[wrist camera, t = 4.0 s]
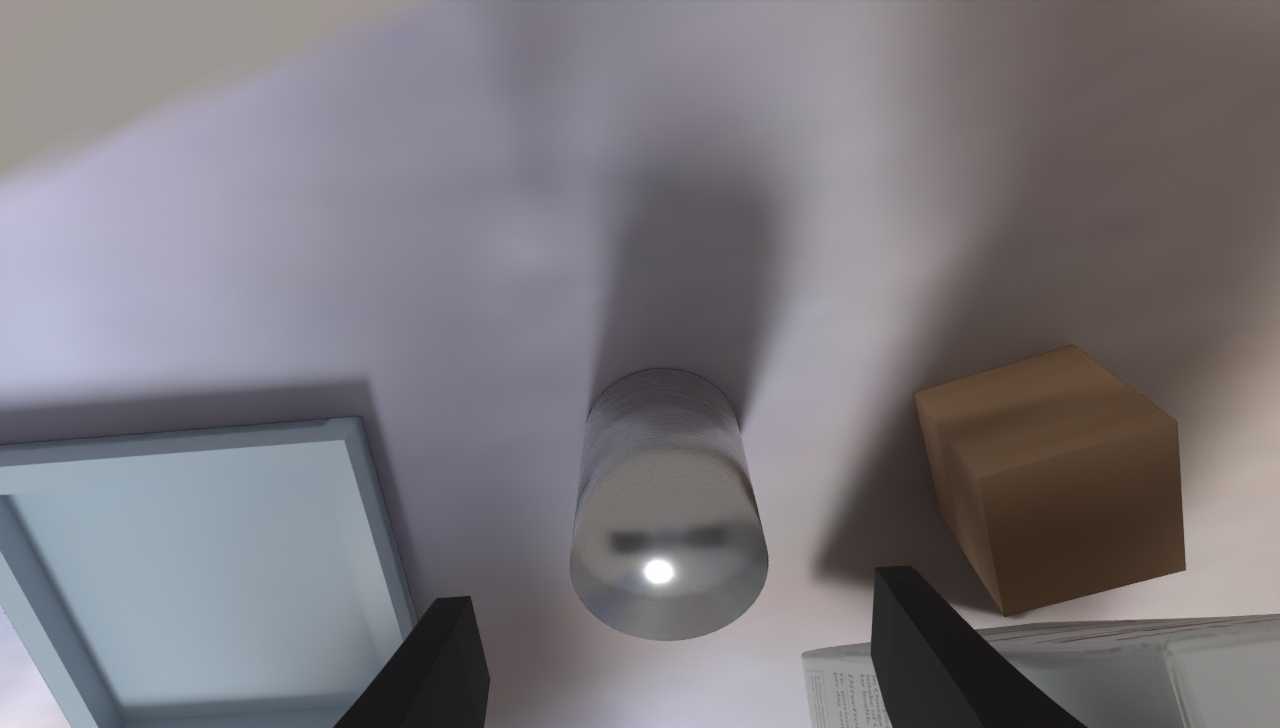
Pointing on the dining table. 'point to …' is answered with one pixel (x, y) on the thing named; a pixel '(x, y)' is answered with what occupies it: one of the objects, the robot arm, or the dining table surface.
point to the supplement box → (1098, 673)
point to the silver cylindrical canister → (666, 510)
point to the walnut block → (1055, 478)
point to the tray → (203, 574)
